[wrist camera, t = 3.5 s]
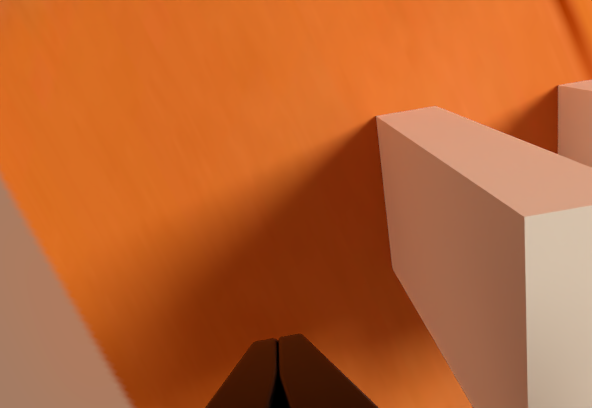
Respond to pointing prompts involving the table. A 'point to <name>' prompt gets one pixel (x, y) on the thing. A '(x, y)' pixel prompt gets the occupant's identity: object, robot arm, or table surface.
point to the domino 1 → (493, 255)
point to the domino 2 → (575, 121)
